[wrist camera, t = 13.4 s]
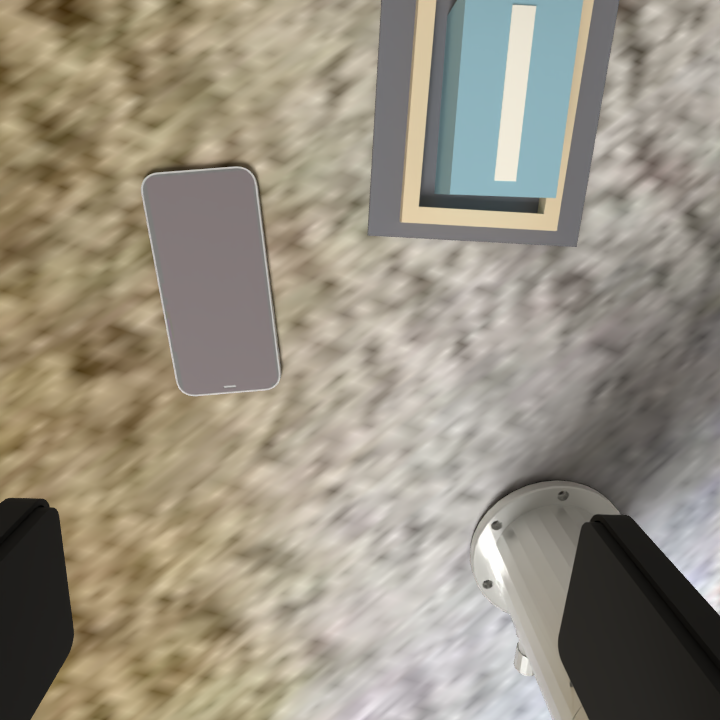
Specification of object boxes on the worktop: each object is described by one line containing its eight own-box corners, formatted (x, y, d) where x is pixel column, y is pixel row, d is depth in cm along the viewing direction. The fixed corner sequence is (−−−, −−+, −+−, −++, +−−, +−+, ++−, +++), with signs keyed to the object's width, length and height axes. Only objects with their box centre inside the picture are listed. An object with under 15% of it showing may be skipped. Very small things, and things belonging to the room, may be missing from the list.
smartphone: (255, 164, 34) (283, 388, 38) (257, 165, 34) (284, 384, 39) (137, 174, 33) (178, 397, 38) (142, 174, 34) (182, 393, 39)
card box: (447, 15, 31) (467, -17, 27) (547, 21, 32) (585, -10, 27) (434, 193, 34) (450, 194, 30) (526, 197, 35) (556, 198, 30)
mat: (573, 246, 36) (584, 248, 35) (367, 234, 35) (368, 236, 34) (620, -30, 31) (636, -42, 30) (384, -50, 31) (386, -63, 29)
